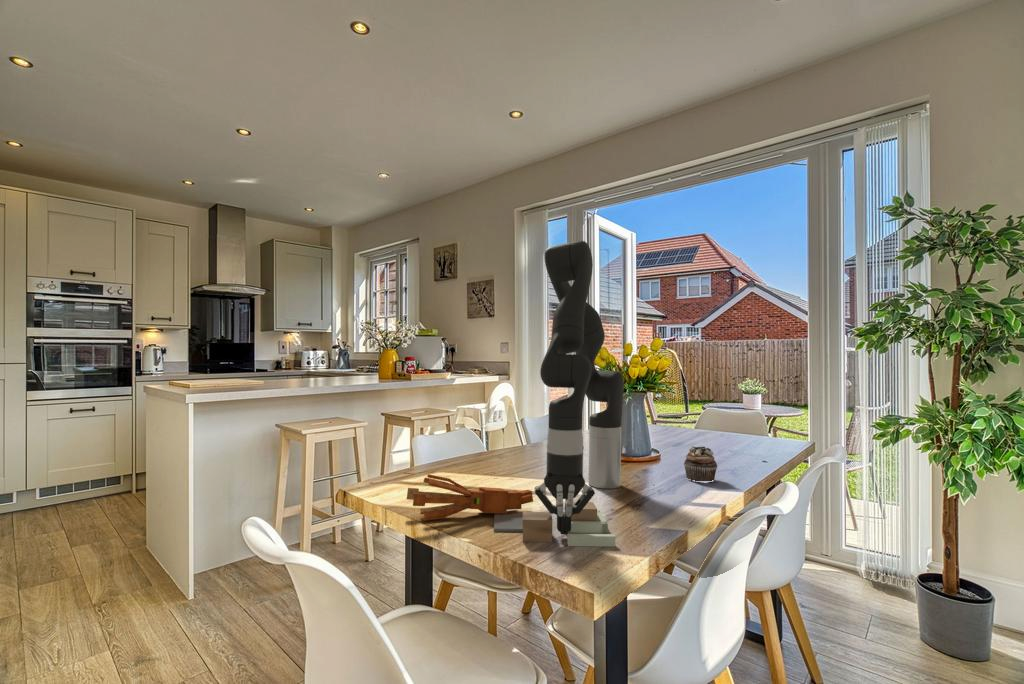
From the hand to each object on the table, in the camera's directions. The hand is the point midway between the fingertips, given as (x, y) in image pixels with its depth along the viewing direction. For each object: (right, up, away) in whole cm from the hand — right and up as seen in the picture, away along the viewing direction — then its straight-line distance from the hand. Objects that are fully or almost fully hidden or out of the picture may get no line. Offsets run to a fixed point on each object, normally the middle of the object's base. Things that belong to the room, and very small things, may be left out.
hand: (563, 533), depth 102 cm
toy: (-20, -1, +13) cm, 24 cm away
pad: (-10, -1, +7) cm, 13 cm away
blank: (-6, -1, 0) cm, 6 cm away
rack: (+5, -1, +4) cm, 6 cm away
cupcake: (+47, -3, +48) cm, 68 cm away
